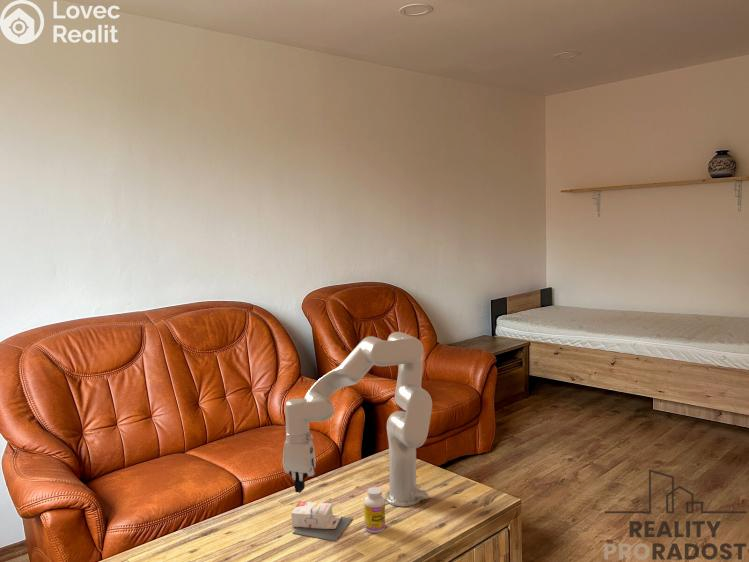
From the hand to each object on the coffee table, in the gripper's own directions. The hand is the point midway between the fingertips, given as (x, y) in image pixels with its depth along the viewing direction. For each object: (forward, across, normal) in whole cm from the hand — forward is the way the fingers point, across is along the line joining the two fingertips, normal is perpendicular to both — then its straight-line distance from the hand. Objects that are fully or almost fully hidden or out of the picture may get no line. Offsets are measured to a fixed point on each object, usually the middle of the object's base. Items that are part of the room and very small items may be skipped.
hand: (299, 490), depth 189 cm
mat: (+11, -8, 0) cm, 14 cm away
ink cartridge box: (+8, +2, 0) cm, 8 cm away
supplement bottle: (+11, -25, -4) cm, 27 cm away
